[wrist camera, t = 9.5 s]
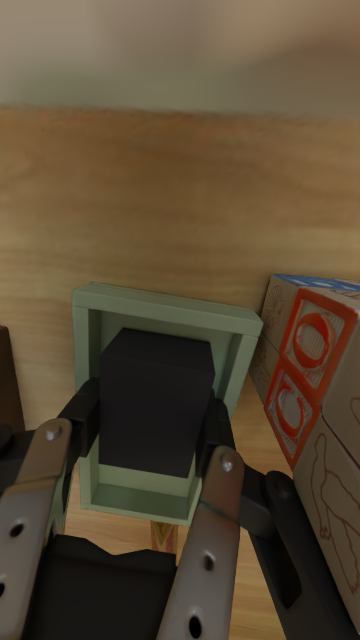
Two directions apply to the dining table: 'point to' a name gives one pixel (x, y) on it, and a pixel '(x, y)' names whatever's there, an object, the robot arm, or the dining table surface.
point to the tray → (170, 319)
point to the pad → (153, 401)
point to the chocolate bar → (164, 537)
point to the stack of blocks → (317, 409)
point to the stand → (9, 386)
